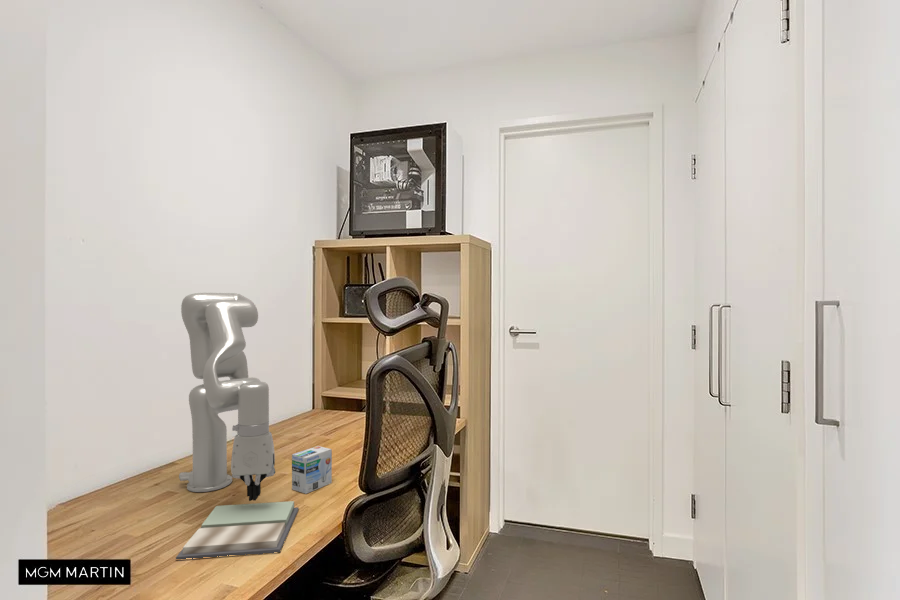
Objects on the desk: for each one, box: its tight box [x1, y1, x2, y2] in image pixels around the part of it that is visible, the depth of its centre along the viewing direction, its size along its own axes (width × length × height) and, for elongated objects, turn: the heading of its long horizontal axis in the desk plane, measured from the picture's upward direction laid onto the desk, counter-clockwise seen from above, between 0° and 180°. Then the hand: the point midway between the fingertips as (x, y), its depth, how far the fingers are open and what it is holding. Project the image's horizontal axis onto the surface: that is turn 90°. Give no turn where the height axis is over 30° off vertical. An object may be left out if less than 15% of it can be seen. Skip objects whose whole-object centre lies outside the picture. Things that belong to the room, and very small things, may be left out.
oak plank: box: [182, 523, 286, 554], centre depth 110 cm, size 20×10×2 cm, turn 98°
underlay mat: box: [175, 507, 299, 560], centre depth 115 cm, size 22×22×1 cm
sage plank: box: [200, 500, 295, 528], centre depth 120 cm, size 20×10×2 cm, turn 98°
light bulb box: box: [291, 445, 333, 494], centre depth 144 cm, size 11×7×11 cm, turn 148°
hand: (253, 498), depth 124 cm, fingers closed
